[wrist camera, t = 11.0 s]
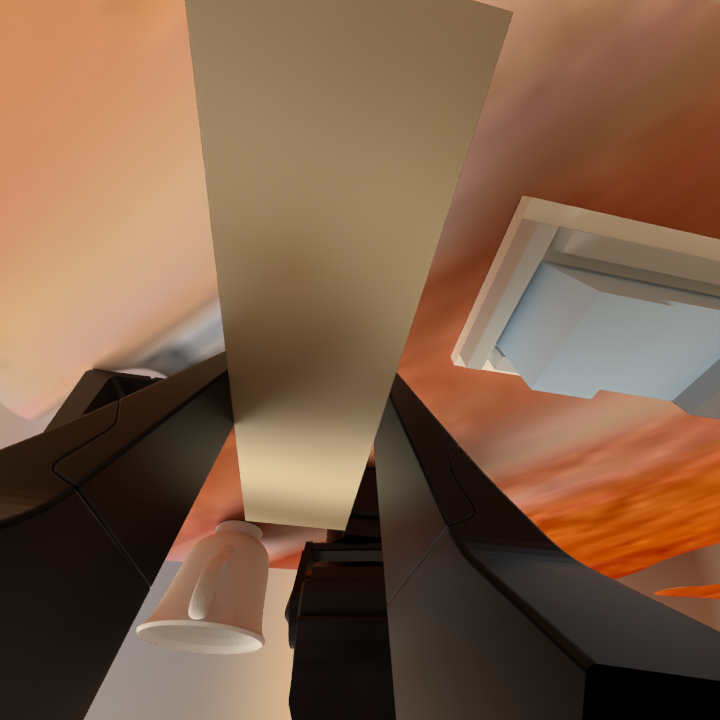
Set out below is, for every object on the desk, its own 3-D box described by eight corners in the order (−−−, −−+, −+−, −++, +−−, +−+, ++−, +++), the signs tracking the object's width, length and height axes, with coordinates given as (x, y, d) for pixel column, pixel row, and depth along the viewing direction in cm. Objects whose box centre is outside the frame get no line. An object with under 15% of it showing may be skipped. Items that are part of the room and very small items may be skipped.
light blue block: (491, 338, 17) (531, 389, 13) (533, 258, 15) (600, 292, 10) (658, 367, 18) (742, 423, 14) (727, 297, 16) (856, 342, 12)
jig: (773, 252, 15) (837, 264, 13) (638, 387, 21) (668, 411, 19) (522, 195, 14) (550, 199, 12) (450, 356, 19) (460, 378, 17)
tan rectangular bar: (348, 465, 14) (344, 530, 11) (267, 456, 13) (245, 520, 11) (450, 80, 6) (513, 12, 3) (260, 30, 5) (174, -87, 3)
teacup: (294, 501, 31) (268, 622, 22) (283, 554, 39) (262, 657, 31) (182, 485, 29) (110, 609, 21) (195, 544, 37) (148, 649, 29)
